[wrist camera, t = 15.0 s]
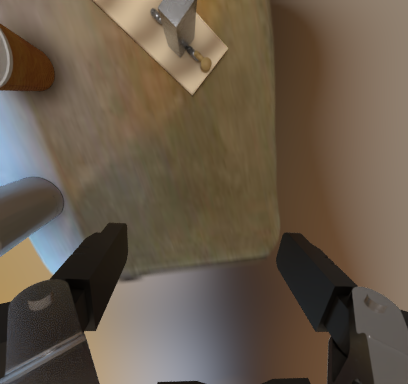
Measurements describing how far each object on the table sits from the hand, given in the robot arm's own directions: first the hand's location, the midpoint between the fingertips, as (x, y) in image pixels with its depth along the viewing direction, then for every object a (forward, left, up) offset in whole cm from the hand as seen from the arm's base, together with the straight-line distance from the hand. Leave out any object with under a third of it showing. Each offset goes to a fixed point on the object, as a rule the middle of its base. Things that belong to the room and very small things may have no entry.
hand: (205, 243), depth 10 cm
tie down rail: (-7, +20, -30) cm, 37 cm away
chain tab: (-4, +18, -28) cm, 34 cm away
